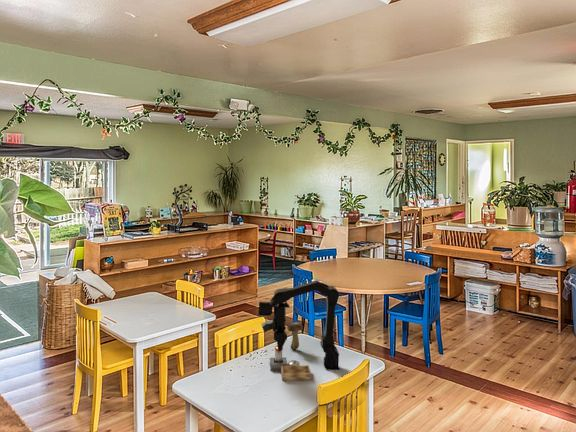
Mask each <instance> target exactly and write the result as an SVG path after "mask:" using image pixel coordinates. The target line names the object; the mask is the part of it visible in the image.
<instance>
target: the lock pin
mask: <svg viewBox="0 0 576 432" xmlns="http://www.w3.org/2000/svg"><path fill="white" fill-rule="evenodd" d="M283 350H284V346H283V347H282V349H281V351H278V345H275V346H274V352H275V353H274V358H275V363H282V358H283Z"/></svg>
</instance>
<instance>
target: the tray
mask: <svg viewBox="0 0 576 432" xmlns="http://www.w3.org/2000/svg"><path fill="white" fill-rule="evenodd" d="M280 375H281V381H283V382H284V381H288V382H291V381H294V382H295V381H312V371H311V369H310V365H309V364H306V365H305V364H304V365H303V364H301V365H296V366H281V371H280Z"/></svg>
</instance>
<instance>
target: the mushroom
mask: <svg viewBox="0 0 576 432" xmlns="http://www.w3.org/2000/svg"><path fill="white" fill-rule="evenodd" d="M286 329H287V331H288V332H291V333H292V336H291V337H292V338H291V339H292V341H291V343H290V349H291V350H292V351H297V349H298V348H299V346H300V341H299V332H300V331H302V330H303V329H304V326H303V325H302V323H300V322H291V323H289V324H288V325H287V327H286Z"/></svg>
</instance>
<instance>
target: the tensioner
mask: <svg viewBox="0 0 576 432" xmlns="http://www.w3.org/2000/svg"><path fill="white" fill-rule="evenodd" d="M296 365H300V361H298V360H292V359H291V360H289V361H288V360H287V357H282V363H275V357H269V368H270V369H269V370H270V372H272V371H273V372H274V371H280V372H281V366H296Z"/></svg>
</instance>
